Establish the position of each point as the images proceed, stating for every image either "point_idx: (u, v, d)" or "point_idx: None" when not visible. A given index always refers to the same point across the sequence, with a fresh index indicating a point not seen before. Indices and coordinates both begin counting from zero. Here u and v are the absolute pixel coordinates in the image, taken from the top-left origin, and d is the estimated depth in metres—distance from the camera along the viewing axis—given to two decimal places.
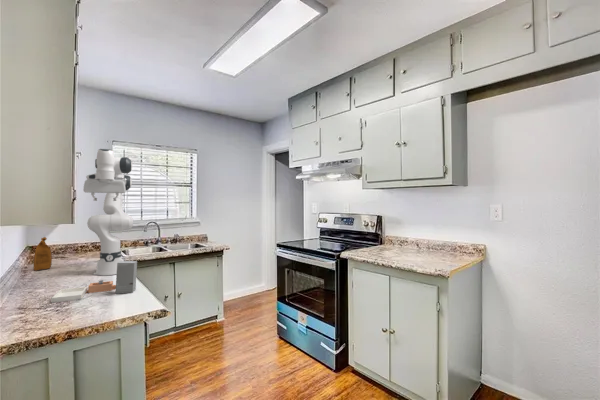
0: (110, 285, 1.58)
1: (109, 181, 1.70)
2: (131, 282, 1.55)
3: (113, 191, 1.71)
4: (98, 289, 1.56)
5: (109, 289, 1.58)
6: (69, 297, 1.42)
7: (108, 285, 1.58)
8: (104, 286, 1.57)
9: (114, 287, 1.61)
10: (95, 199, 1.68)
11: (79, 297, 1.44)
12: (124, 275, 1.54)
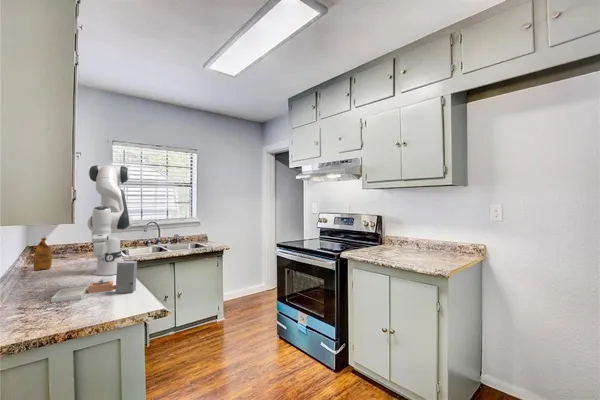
0: (110, 285, 1.58)
1: None
2: (131, 282, 1.55)
3: (106, 251, 1.64)
4: (98, 289, 1.56)
5: (109, 289, 1.58)
6: (69, 297, 1.42)
7: (108, 285, 1.58)
8: (104, 286, 1.57)
9: (114, 287, 1.61)
10: (101, 262, 1.55)
11: (79, 297, 1.44)
12: (124, 275, 1.54)
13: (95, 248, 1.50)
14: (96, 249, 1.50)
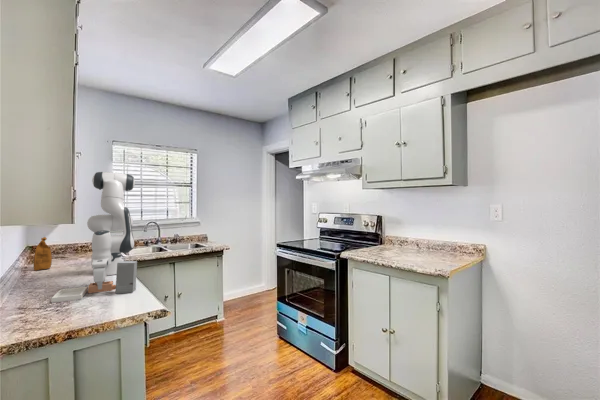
0: (110, 285, 1.58)
1: None
2: (131, 282, 1.55)
3: (106, 274, 1.64)
4: (98, 289, 1.56)
5: (109, 289, 1.58)
6: (69, 297, 1.42)
7: (108, 285, 1.58)
8: (104, 286, 1.57)
9: (114, 287, 1.61)
10: None
11: (79, 297, 1.44)
12: (124, 275, 1.54)
13: (95, 274, 1.50)
14: (95, 276, 1.50)
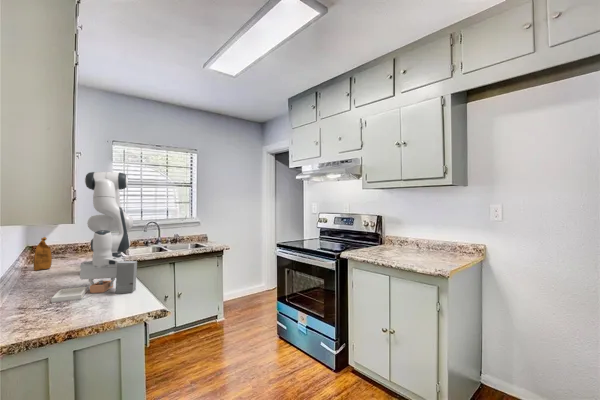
0: None
1: None
2: (131, 282, 1.55)
3: None
4: (107, 287, 1.59)
5: (112, 286, 1.64)
6: (69, 297, 1.42)
7: None
8: None
9: None
10: None
11: (79, 297, 1.44)
12: (124, 275, 1.54)
13: None
14: None
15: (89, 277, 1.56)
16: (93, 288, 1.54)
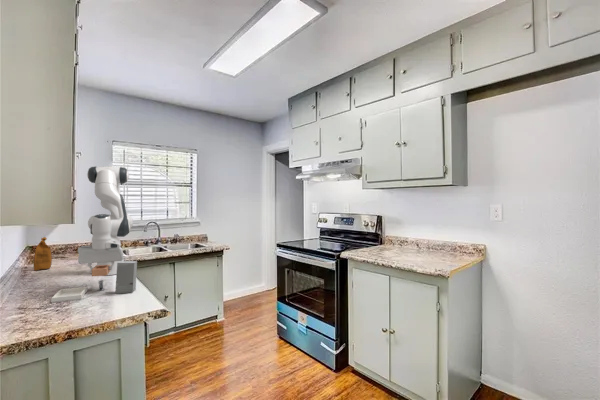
0: None
1: None
2: (131, 282, 1.55)
3: None
4: (108, 271, 1.60)
5: (109, 270, 1.65)
6: (69, 297, 1.42)
7: None
8: None
9: None
10: None
11: (79, 297, 1.44)
12: (124, 275, 1.54)
13: (122, 253, 1.63)
14: (122, 254, 1.63)
15: (89, 261, 1.55)
16: (95, 272, 1.54)
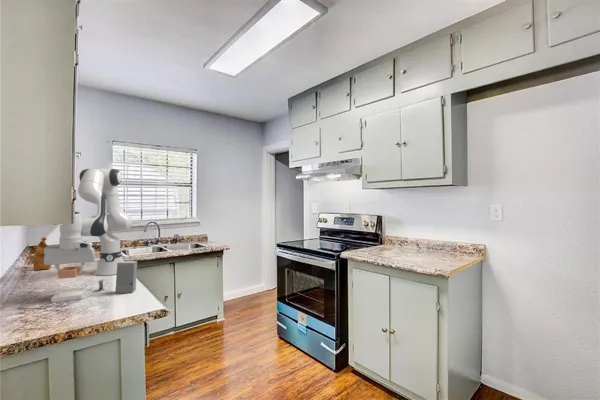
0: (80, 267, 1.53)
1: None
2: (131, 282, 1.55)
3: None
4: (77, 272, 1.48)
5: (80, 272, 1.52)
6: (69, 297, 1.42)
7: (80, 267, 1.52)
8: None
9: None
10: None
11: (79, 297, 1.44)
12: (124, 275, 1.54)
13: (93, 253, 1.51)
14: (94, 254, 1.51)
15: (55, 262, 1.44)
16: (62, 273, 1.42)
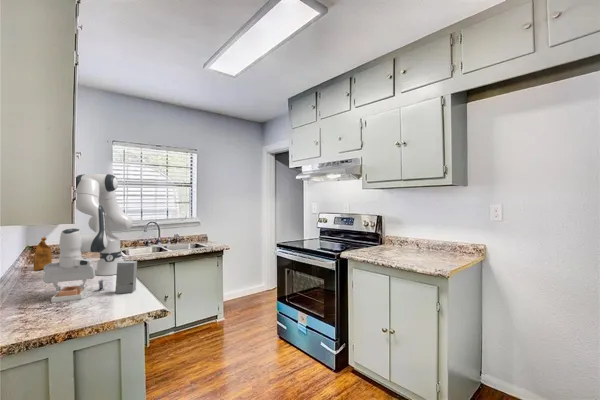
0: None
1: None
2: (131, 282, 1.55)
3: None
4: (78, 292, 1.48)
5: (80, 291, 1.53)
6: (69, 297, 1.42)
7: None
8: (79, 288, 1.51)
9: None
10: None
11: (79, 297, 1.44)
12: (124, 275, 1.54)
13: (93, 270, 1.51)
14: (93, 271, 1.51)
15: (55, 280, 1.44)
16: (63, 294, 1.42)
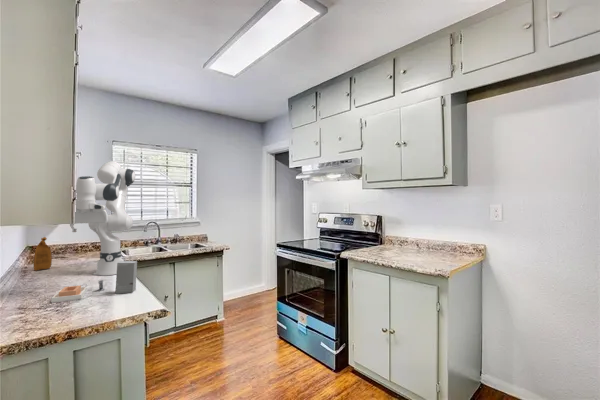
0: (80, 287, 1.53)
1: None
2: (131, 282, 1.55)
3: None
4: (78, 292, 1.48)
5: (80, 291, 1.53)
6: (69, 297, 1.42)
7: (80, 287, 1.52)
8: (79, 288, 1.51)
9: None
10: None
11: (79, 297, 1.44)
12: (124, 275, 1.54)
13: (106, 215, 1.64)
14: (106, 216, 1.64)
15: None
16: (63, 294, 1.42)
